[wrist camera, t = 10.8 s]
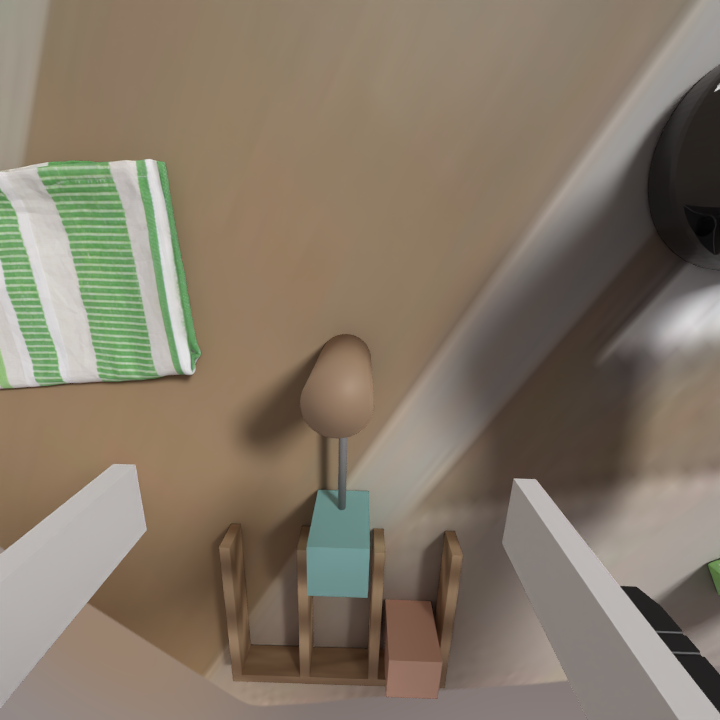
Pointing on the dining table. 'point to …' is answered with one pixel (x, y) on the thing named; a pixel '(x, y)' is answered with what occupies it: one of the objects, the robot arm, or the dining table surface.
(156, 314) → the dish towel
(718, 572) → the ink box
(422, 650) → the terracotta block
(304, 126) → the dining table surface
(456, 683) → the dining table surface
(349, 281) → the dining table surface
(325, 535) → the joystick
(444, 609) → the oak lanes
